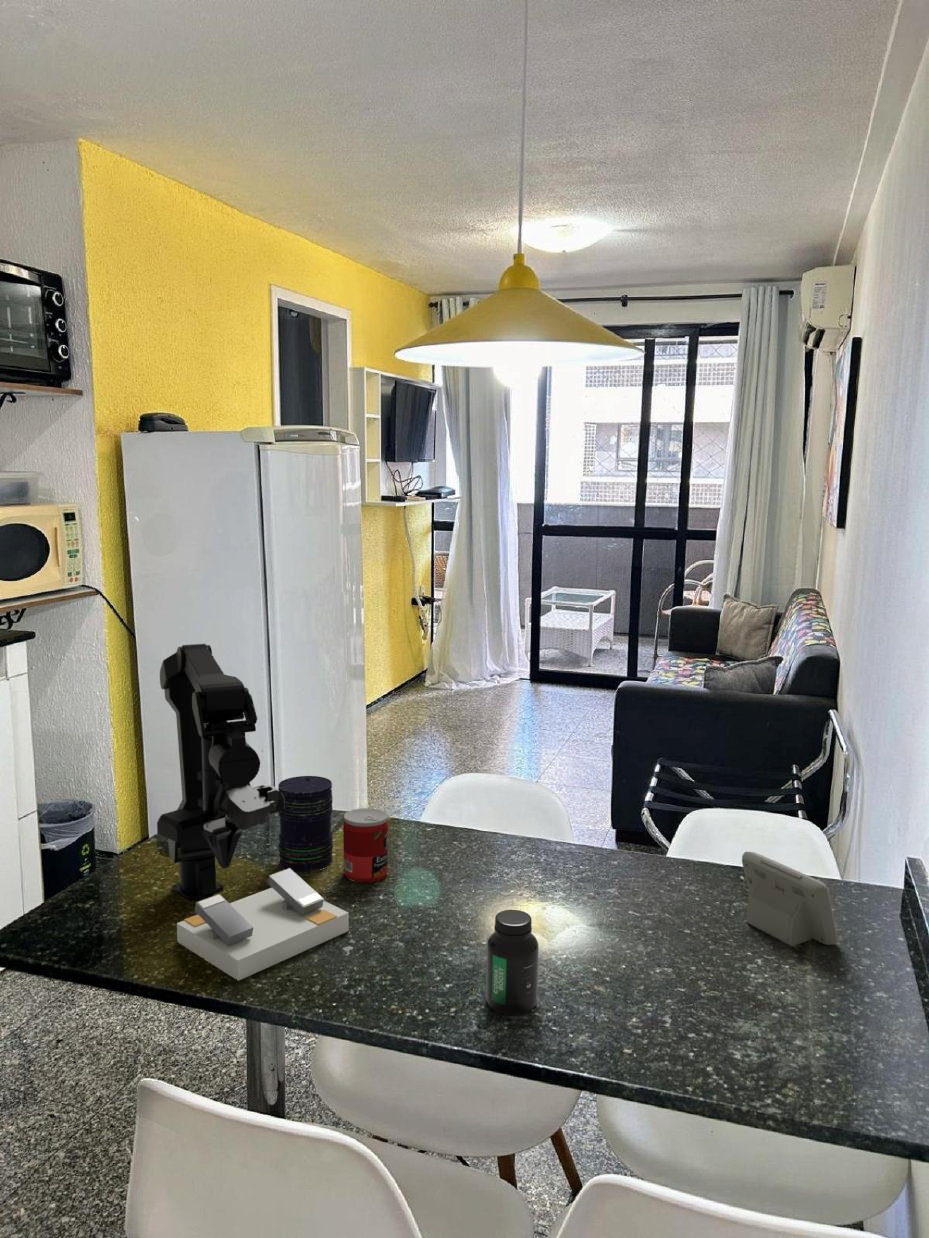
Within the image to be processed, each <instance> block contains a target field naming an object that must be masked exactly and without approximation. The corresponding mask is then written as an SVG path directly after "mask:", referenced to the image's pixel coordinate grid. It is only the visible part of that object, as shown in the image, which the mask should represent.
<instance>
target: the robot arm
mask: <svg viewBox="0 0 929 1238" xmlns="http://www.w3.org/2000/svg"><path fill="white" fill-rule="evenodd" d="M159 684H160V689H161V690H164V699H165V701H166V703H168V705H169V706H170V707H171V708H172V710H173V711H174V712H175V716H176V717H175V718H176V730H177V731H176V732H177V745H178V757H179V771H180V782H181V785H180V786H181V797H182V799H181V801H180V804H179V805H178V808H177V809H176V810H172V811H169V812H166V813H163V814H161V815H160V816H159V818H158V820H157V822H156V828H157V830H156V831H157V834H158V835H160V836H162V837H165V838H166V839H167V840H168V854H169V856H170V859H171V861H172V862H173V864H178V868H179V869H178V870H179V883H176V884H173V885H171V890H173V891H174V892H176V893H178V894H179V895H181V896H183V897H185V898H186V899H188V900H190V901H193V900H195V899H199V898H200V897H204V896H208V895H209V894H212V893H215V892H218V891H221V890H223V889H224V888H225V886H224V885H225V884H223V883H221V882H219V881H217V867H216V860H217V863H218V865H219V867H220V868H222V869H227V868H230V866H231V863H232V860H233V857H234V854H235V851H236V849H237V846H238V843H239V841H240V838H241V835H242V834H243V832H244V831H245V830H248V829H250V828H252V827H254V826H257V825H263V824H265V823H266V822H267V818H268V815H273V814H275V813H279V811H282V810H284V809H285V798H284V796H283V794H282V793H281V792H280V791H279V790H278V788H276V787H275V786H274V785H273V784H269V785H259V786H256V787H252V785H251V782H252V781H254V779H255V778H256V777H257V776H258V774H259V771H260V768H261V760H260V757H259V755H258V753H257V752H256V750H255V749H254V748H253V747H251V745H250V744H248V742H247V739H246V733H252V732H253V733H254V732H256V731H257V729H256V728H257V727H256V724H257V721H258V716H257V712H256V709H255V708H256V707H255V704H254V701H253V700H254V699H253V697H252V695H251V693H250V692H249V688H247V687H245V684H244V683H243V682H242V681H241V680H240V679H239V678H238V677H236V676H232V675H227V674H225V673H224V672H223V670H222V668H221V667H220V665H219V664H218V662H217V661H216V659H215V656H213V650H212V647H211V645H210V644H206V643H195V644H182V645H181V646H178V647H177V650H176V652H175V653H173V654H172V655H169V656H168V657H167V658H165V659H163V661H162V663H161V666H160V669H159ZM244 719H245V720H244Z"/></svg>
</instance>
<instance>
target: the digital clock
mask: <svg viewBox="0 0 929 1238" xmlns="http://www.w3.org/2000/svg"><path fill="white" fill-rule="evenodd" d="M741 863H742V869H743V872H744V877H745V881H746V886H747V889H748V894H749V896H748V898H747V908H746V923H747V924H749V925H751V927H754V928H756V929H758V930H760V931H762V932H763V933H766V934H768V935H770V936H771V937H773V938H775V939H777V940H779V941H781V942H783V944H786V945H788V946H790V947H794V946H797V945H799V944H802V943H805V942H807V941H808V942H809V941H811V940H815V941H817V942H819V943H820V944H823V945H827V946H835V944H837V942H838V930H837V927H836V921H835V916H834V913H833V905H832V901H831V897H830V891H829V889H828V888H829V887H828V885H827V884H826V883H825V882H823V881H821V880H820V879H819V880H818V879H816V878H815V877H812V876H810V875H808V874H805V873H803V872H801V871H799V870H796V869H793V868H791V867H789V866H788V865H785V864H783V863H780V862H778V861H776V860H774V859H771V858H769V857H767V856H764V855H762V854H760V853H757V852H756V851H755V852H754V851H745V852H743V854H742V856H741Z"/></svg>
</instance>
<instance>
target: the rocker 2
mask: <svg viewBox="0 0 929 1238" xmlns="http://www.w3.org/2000/svg"><path fill="white" fill-rule="evenodd" d="M267 884H268V885H269V887H270V888H273V889H274V890H275V891H276V892H277V893H278V894H279V895H281V896H282V897H283V898H284V899H285V900H286V901H287V902H288V903H289V904H290V905H291V906H292V907H293V908H294V909H295V910H297V911H298V912H299V913H300V914H301V915H304V914H307V913H309V912H311V911H314V910H316V909H319V908H321V907H323V902H324V901H325V898H324V897H323V896H321V895H320V894H319V893H318V892H317V891H316V890H315V889H314V888H313V887H311V885H309V884H308V883H307V882H306V881H305V880H304V879H303V878H301V876H299V875H298V874H297V873H295V872H293V871H292V870H291V869H290V868H289V869H286V870H284V869H282V870H280V871H278V872H275V873H273V874H269V876H268V880H267Z"/></svg>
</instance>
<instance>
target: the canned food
mask: <svg viewBox="0 0 929 1238" xmlns="http://www.w3.org/2000/svg"><path fill="white" fill-rule="evenodd" d="M342 822H343V825H342V829H343V832H342V834H343V835H342V836H343V837H342V838H343V841H342V842H343V843H342V845H343V872H344V876H345V878H347V879H348V880H350V879H351V880H350V881H352V880H354V881H353V882H355V881H357V882H356V883H362V882H366V883H365V884H368V883H375V882H379V881H381V880H383V879H384V878H385V877H386V876H387V874H388V871H389V816H388V813H387V812H385V811H384V810H380V809H377V808H370V807H368V808H367V807H366V808H365V807H363V808H362V807H361V808H355V809H351V810H348V811H347V812H345V813H344V815H343V821H342ZM378 880H379V881H378ZM367 882H368V883H367Z"/></svg>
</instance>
